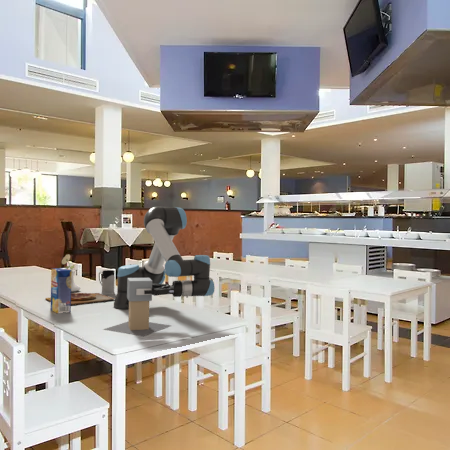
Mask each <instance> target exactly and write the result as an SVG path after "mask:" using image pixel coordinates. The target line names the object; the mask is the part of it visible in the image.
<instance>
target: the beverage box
mask: <svg viewBox="0 0 450 450" xmlns="http://www.w3.org/2000/svg"><path fill="white" fill-rule="evenodd" d="M50 269H51V275H50V298H51V302H50V309H49V310H50V311H52V312H54V313H55V314H64V313H63V312H66V313H71V311H72V309H71V306H72V305H71V294H72V292H71V277H72V270H73V269H70V268H68V269H66V268H65V267H59V268H57V267H56V268H50Z"/></svg>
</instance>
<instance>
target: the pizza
mask: <svg viewBox="0 0 450 450" xmlns="http://www.w3.org/2000/svg"><path fill="white" fill-rule="evenodd" d="M115 298H116V297H112V296H110V295H102V294H101V292H94V293H93V292H92V293H91V292H74V293H73V292H71V306H81V305H82V306H84V305H85V306H86V305H90V304H91V305H93V304H101V303H105V302H108V301H113V300H114V301H115ZM45 300H46V301H48V302H49V303H51V297H45Z"/></svg>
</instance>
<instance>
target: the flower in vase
mask: <svg viewBox="0 0 450 450" xmlns="http://www.w3.org/2000/svg"><path fill="white" fill-rule="evenodd" d="M70 260H71V255H70V254H65V256H64V257H62V260H61V265H65V264H67V263H68V265H66V266H65V267H64V268H66V269H69V270H72V277H71V293H73V292H78V291H79V290H81V287H80V285H78V284H77V283H76V282H75V281H74V276H75V273H76V270H73V269H74V268H75V264H73V265H70V262H69V261H70Z"/></svg>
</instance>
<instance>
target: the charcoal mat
mask: <svg viewBox="0 0 450 450" xmlns="http://www.w3.org/2000/svg"><path fill="white" fill-rule="evenodd" d="M170 327H172V325H170V324H162V323H158V322H157V323H156V322H150V321H149V329H144V330H130V329H129V326H128V321H125V322H121V323H119V324H115V325H112V326H109V327H106V328H103V329H102V330H103V331H110V332H116V333H121V334H127V335H132V336H137V337H138V336H139V337H147V336H149V335H151V334H154V333H157V332H159V331H161V330H165V329H168V328H170Z"/></svg>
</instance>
